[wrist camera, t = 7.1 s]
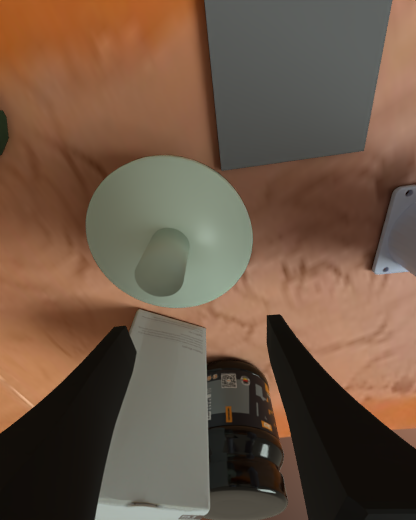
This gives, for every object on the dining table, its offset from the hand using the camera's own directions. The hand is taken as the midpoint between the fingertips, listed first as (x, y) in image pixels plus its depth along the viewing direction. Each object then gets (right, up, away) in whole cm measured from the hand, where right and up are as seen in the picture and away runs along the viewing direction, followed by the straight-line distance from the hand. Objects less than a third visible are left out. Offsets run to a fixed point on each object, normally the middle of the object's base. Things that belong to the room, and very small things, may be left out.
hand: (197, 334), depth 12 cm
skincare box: (-4, -5, +15) cm, 16 cm away
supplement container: (+3, -13, +20) cm, 23 cm away
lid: (-2, +5, +4) cm, 7 cm away
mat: (+6, +16, +2) cm, 17 cm away
